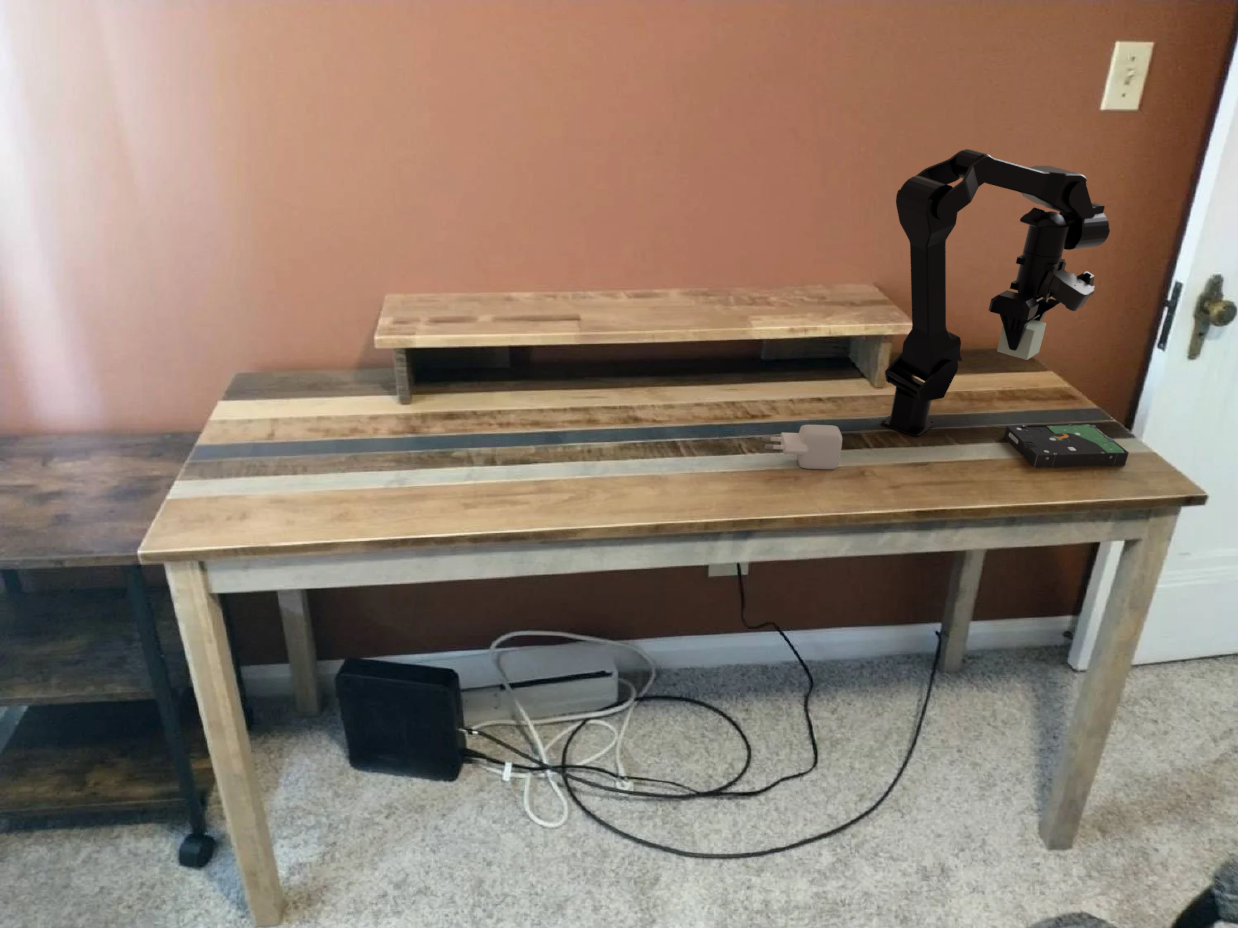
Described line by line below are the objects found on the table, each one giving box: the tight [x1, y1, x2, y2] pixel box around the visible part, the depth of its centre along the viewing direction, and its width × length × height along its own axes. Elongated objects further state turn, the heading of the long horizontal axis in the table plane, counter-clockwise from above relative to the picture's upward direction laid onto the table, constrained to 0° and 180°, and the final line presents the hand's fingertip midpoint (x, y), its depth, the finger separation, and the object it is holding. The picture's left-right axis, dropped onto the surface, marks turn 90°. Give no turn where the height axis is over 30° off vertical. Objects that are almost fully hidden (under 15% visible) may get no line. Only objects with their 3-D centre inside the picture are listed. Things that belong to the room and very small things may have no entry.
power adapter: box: [761, 424, 843, 470], centre depth 142 cm, size 11×5×6 cm, turn 90°
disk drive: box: [1003, 423, 1130, 469], centre depth 150 cm, size 10×3×15 cm
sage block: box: [996, 320, 1047, 361], centre depth 158 cm, size 5×5×5 cm
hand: (1019, 345), depth 159 cm, fingers closed on sage block, 5 cm apart
